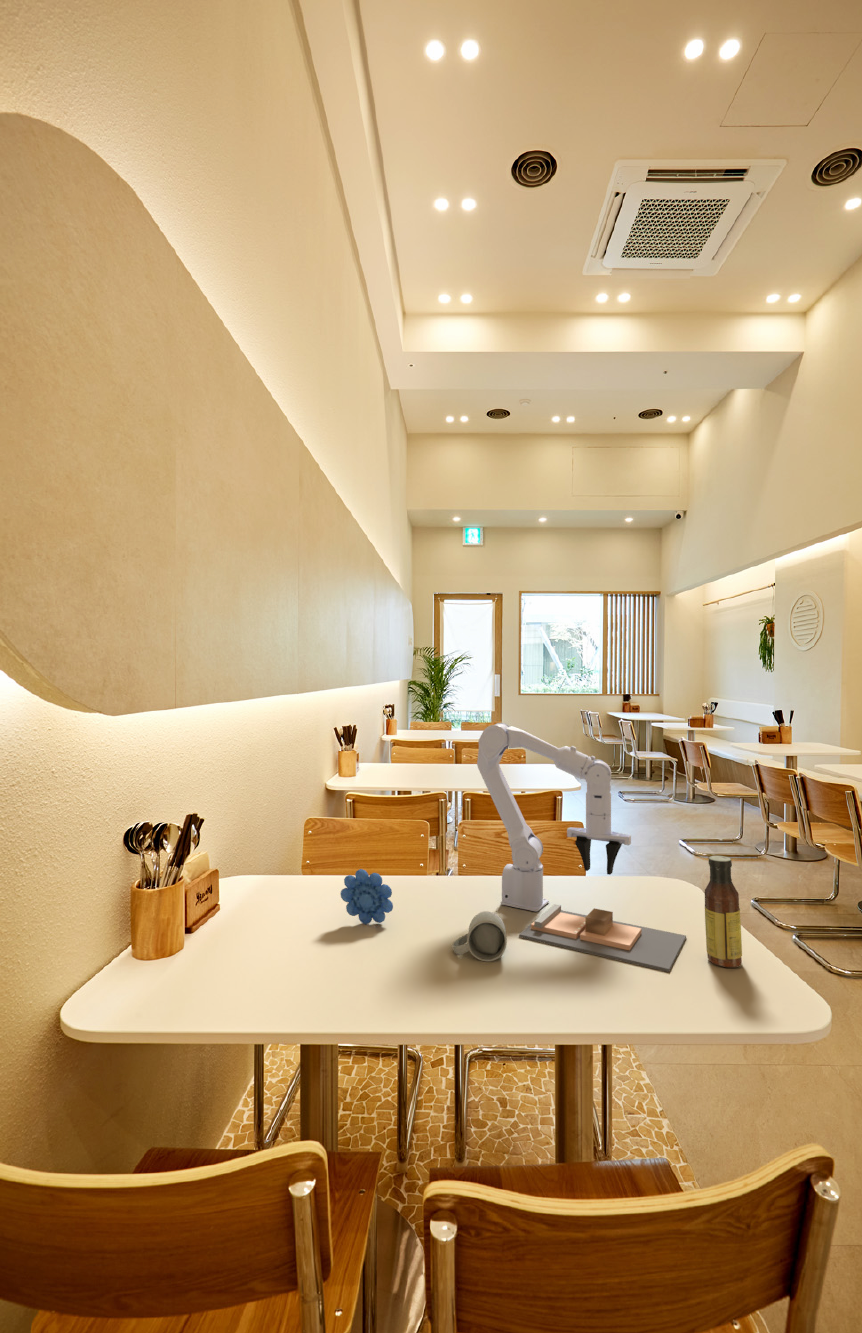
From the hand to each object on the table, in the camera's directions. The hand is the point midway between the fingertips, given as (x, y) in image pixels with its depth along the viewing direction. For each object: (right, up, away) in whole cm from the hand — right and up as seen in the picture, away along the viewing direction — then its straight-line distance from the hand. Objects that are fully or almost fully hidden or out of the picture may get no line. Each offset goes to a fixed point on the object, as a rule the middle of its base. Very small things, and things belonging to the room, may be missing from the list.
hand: (598, 871), depth 147 cm
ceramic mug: (-29, -9, -22) cm, 38 cm away
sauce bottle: (+17, -9, -26) cm, 32 cm away
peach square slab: (-1, -9, -16) cm, 18 cm away
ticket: (-11, -9, -10) cm, 17 cm away
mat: (-3, -9, -15) cm, 18 cm away
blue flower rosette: (-53, -9, -9) cm, 55 cm away
